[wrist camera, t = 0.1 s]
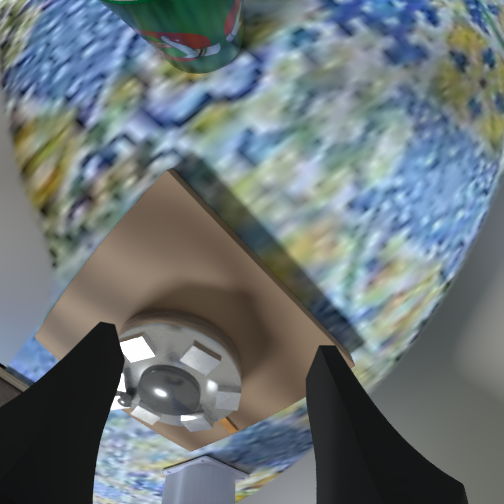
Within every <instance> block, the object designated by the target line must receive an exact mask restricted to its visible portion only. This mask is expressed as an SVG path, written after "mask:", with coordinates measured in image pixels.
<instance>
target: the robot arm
mask: <svg viewBox="0 0 504 504" xmlns="http://www.w3.org/2000/svg"><path fill="white" fill-rule="evenodd" d="M124 363H125V358H124V355H123V351H122V348H121V344H120V341H119V337H118V334H117V330H116V326H115V324H111V323H106V322H101V321H100V322H99V323H98V324H97V325H96V326H95V327H94V328H93V329H92V330H91V331H90V332H89V333H88V334H87V335H86V336H85V337H84V338H83V339H82V340H81V341H80V342H79V343H78V344H77V345H76V346H75V347H74V348H73V349H72V350H71V351H70V352H68V353H67V354H66V355H65V356H64V357H63V358H62V359H61V360H60V361H59V362H58V363H57V364H56V365H55V366H54V367H53V368H51V369H50V370H49V371H48V372H47V373H46V374H45V375H44V376H43V377H41V378H40V379H39V380H38V381H37V382H35V383H34V384H33V385H32V386H30V387H29V388H28V389H26V390H25V391H24V392H22V393H21V394H20V395H18V396H17V397H15V398H14V399H12V400H10V401H9V402H7V403H6V404H4V405H3V406H1V407H0V504H93V487H94V476H95V468H96V461H97V455H98V450H99V445H100V440H101V436H102V433H103V429H104V426H105V424H106V421H107V418H108V415H109V412H110V409H111V407H112V404H113V401H114V398H115V395H116V393H117V390H118V387H119V384H120V380H121V376H122V372H123V368H124ZM306 401H307V409H308V415H309V421H310V427H311V433H312V439H313V445H314V451H315V460H316V478H317V504H468V500H467V496H466V492H465V488H464V485H463V484H462V483H461V482H459V481H457V480H455V479H454V478H452V477H451V476H449V475H447V474H446V473H444V472H443V471H441V470H440V469H439V468H437V467H436V466H435V465H433V464H432V463H430V462H429V461H428V460H427V459H426V458H424V457H423V456H422V455H421V454H420V453H419V452H418V451H417V450H415V449H414V448H413V447H412V446H411V445H410V444H409V443H408V442H407V441H406V440H405V439H404V438H403V437H402V436H401V435H400V434H399V433H398V432H397V431H396V430H395V429H394V428H393V427H392V425H391V424H390V423H389V422H388V421H387V419H386V418H385V417H384V416H383V415H382V413H381V412H380V411H379V410H378V408H377V407H376V405H374V403H373V401H372V400H371V399H370V397H369V396H368V394H367V393H366V391H365V390H364V389H363V387H362V386H361V384H360V383H359V381H358V380H357V378H356V377H355V375H354V374H353V372H352V370H351V369H350V367H349V366H348V364H347V363H346V361H345V359H344V358H343V356H342V355H341V353H340V351H339V350H338V348H337V347H336V345H319V347H318V349H317V352H316V354H315V357H314V359H313V362H312V364H311V367H310V369H309V372H308V374H307V376H306ZM161 473H162V474H164V475H166V480H165V486H164V491H163V497H162V503H161V504H235V483H236V482H239V481H242V480H245V479H248V478H250V475H248V474H246V473H244V472H241V471H239V470H237V469H234V468H232V467H230V466H228V465H225V464H223V463H221V462H219V461H217V460H215V459H213V458H211V457H208V456H203V457H200V458H197V459H194V460H192V461H189V462H186V463H183V464H180V465H177V466H173V467H170V468H167V469H164V470H162V472H161Z"/></svg>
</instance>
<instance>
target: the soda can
mask: <svg viewBox="0 0 504 504" xmlns="http://www.w3.org/2000/svg"><path fill="white" fill-rule="evenodd" d="M99 1H100V2H101V3H103V4H104V5H105V6H106V7H107V8H109V9H110V10H111V11H112V12H113V13H115V14H116V15H117V16H118V17H119V18H121V19H122V20H123V21H124V22H125V23H126V24H127V25H129V26H130V27H131V28H132V29H133V30H134V31H135V32H137V33H138V34H139V35H140V36H141V37H142V38H143V39H144V40H146V41H147V42H148V43H149V44H150V45H151V46H152V47H153V48H154V49H155V50H156V51H157V52H159V53H160V54H161V55H162V56H163V57H164V58H165V59H166V60H167V61H168V62H169V63H170V64H171V65H173V66H174V67H175V68H177V69H179V70H181V71H184V72H187V73H197V74H201V73H208V72H212V71H215V70H218V69H220V68H222V67H224V66H225V65H227V64H228V63H230V62H231V61H232V60H233V59H234V58H235V57H236V56H237V54H238V53H239V51H240V49H241V47H242V45H243V41H244V8H243V0H99Z"/></svg>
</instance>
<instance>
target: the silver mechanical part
mask: <svg viewBox="0 0 504 504" xmlns="http://www.w3.org/2000/svg"><path fill="white" fill-rule="evenodd" d="M118 337H119V341H120V344H121V348H122V351H123V355H124V358H125V363H124V368H123V372H122V376H121V380H120V384H119V387H118V390H117V393H116V395H115V398H114V401H113V404H112V407H111V409H110V410H116V409H124V408H130V407H131V408H132V410H131V413H130V414H132V415H134V416H135V417H137V418H139V419H141V420H143V421H145V422H147V423H149V424H151V425H153V424H154V423H155V422H156V421H159V422H162V423H165V424H170V425H176V426H185V427H186V428H187V429H188V430H189V431H190V432H195V431H202V430H208V429H213V424H214V422H217V421H219V420H221V419H223V418H225V417H226V416H228V415H229V414H230V413H231V412H233V410H235V411H238V407H239V402H240V398H241V387H242V364H241V358H240V354H239V352H238V350H237V348H236V346H235V345H234V343H233V342H232V340H231V339H230V338H229V337H228V336H227V335H226V334H225V333H224V332H223V331H222V330H221V329H219V328H218V327H216V326H215V325H214V324H212V323H210V322H209V321H207V320H205V319H203V318H200V317H198V316H196V315H193V314H190V313H186V312H182V311H177V310H152V311H147V312H144V313H141V314H138V315H136V316H134V317H133V318H131V319H129V320H128V321H127V322H126V323H125V324H124V325H123V327H122V328H121V329H120V331H119V333H118Z"/></svg>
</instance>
